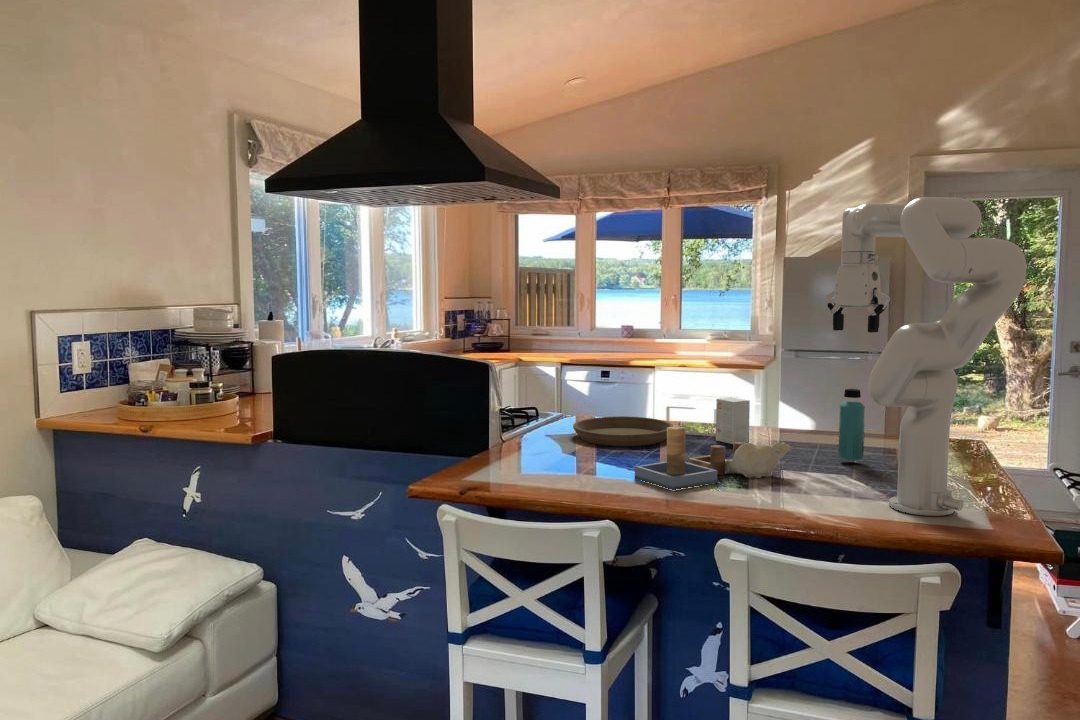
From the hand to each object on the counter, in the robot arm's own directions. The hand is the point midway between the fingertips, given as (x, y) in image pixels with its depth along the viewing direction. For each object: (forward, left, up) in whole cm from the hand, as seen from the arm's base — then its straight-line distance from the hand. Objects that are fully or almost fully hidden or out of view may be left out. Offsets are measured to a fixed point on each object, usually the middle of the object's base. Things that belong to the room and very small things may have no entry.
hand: (855, 331), depth 194 cm
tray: (+21, +38, -36) cm, 57 cm away
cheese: (+15, +16, -37) cm, 43 cm away
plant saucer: (+72, +14, -37) cm, 82 cm away
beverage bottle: (+11, -15, -36) cm, 41 cm away
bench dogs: (+21, +20, -36) cm, 46 cm away
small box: (+49, -10, -36) cm, 62 cm away
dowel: (+21, +38, -35) cm, 56 cm away
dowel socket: (+28, +20, -36) cm, 50 cm away
